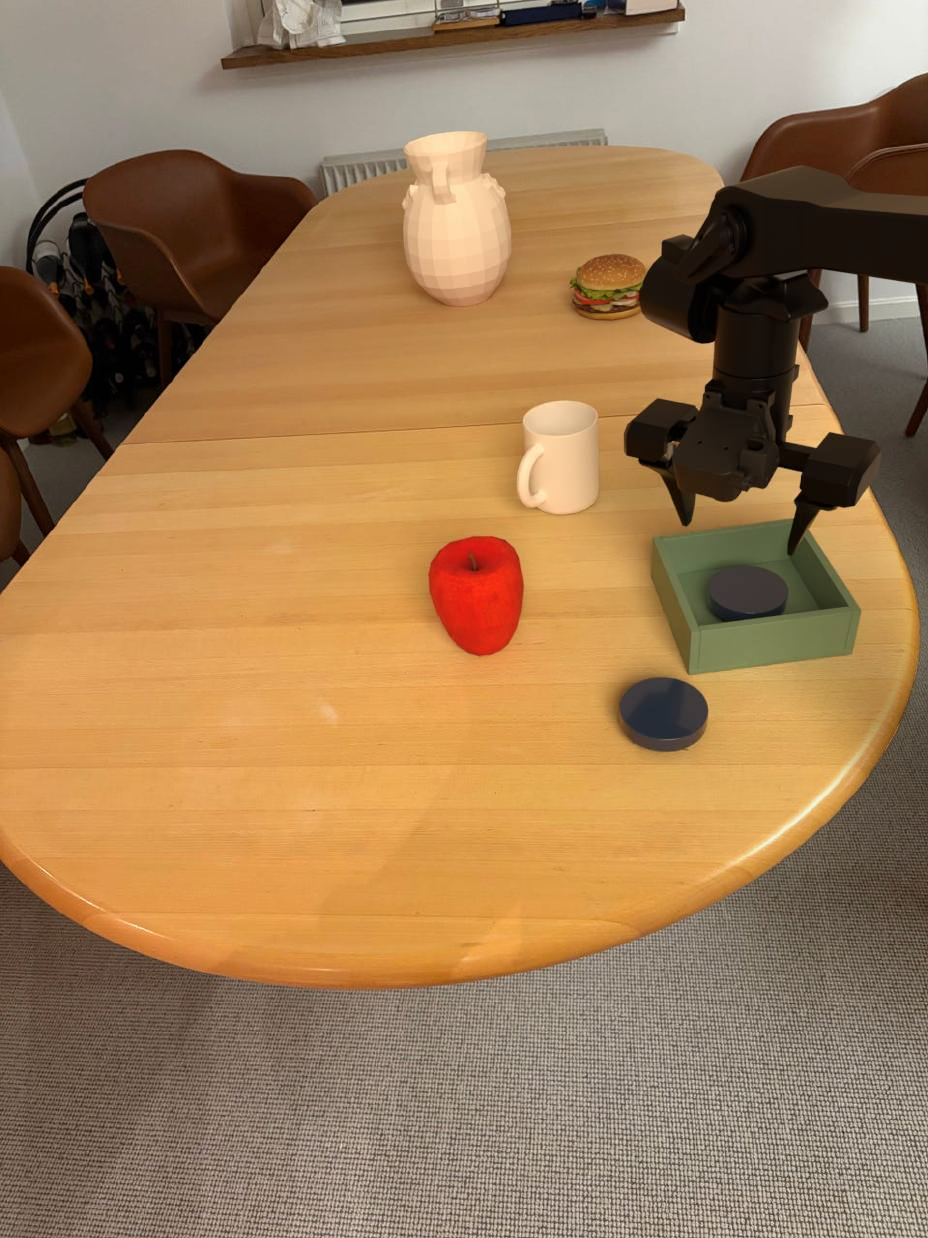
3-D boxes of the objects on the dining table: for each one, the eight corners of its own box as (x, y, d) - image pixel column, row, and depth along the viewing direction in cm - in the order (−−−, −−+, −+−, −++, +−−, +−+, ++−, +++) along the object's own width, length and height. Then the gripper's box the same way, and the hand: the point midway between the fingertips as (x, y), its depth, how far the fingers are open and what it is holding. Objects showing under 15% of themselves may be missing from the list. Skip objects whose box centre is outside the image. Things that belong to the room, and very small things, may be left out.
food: (671, 312, 140) (673, 261, 135) (587, 330, 139) (586, 279, 134) (638, 285, 151) (639, 236, 146) (560, 301, 149) (558, 252, 144)
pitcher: (426, 279, 165) (404, 131, 149) (523, 274, 161) (512, 121, 145) (401, 319, 151) (374, 160, 135) (506, 315, 147) (492, 151, 131)
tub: (794, 558, 90) (800, 516, 86) (852, 654, 78) (862, 610, 75) (651, 577, 90) (652, 536, 87) (688, 675, 79) (691, 633, 75)
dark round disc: (770, 580, 86) (773, 560, 85) (796, 628, 81) (800, 607, 79) (697, 590, 87) (698, 570, 85) (718, 638, 81) (720, 617, 79)
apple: (478, 600, 90) (466, 512, 83) (547, 630, 86) (541, 539, 79) (421, 650, 85) (403, 561, 79) (492, 684, 81) (479, 592, 74)
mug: (550, 541, 97) (545, 459, 90) (494, 518, 101) (484, 439, 95) (614, 490, 103) (613, 410, 96) (557, 471, 108) (553, 393, 101)
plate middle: (693, 692, 77) (695, 671, 75) (717, 754, 72) (719, 733, 70) (611, 702, 77) (611, 682, 76) (629, 765, 72) (629, 745, 70)
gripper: (585, 385, 64) (591, 558, 74) (844, 437, 55) (812, 628, 64) (657, 328, 71) (654, 494, 81) (901, 365, 61) (864, 549, 71)
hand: (737, 538), depth 74 cm, fingers open, 9 cm apart
